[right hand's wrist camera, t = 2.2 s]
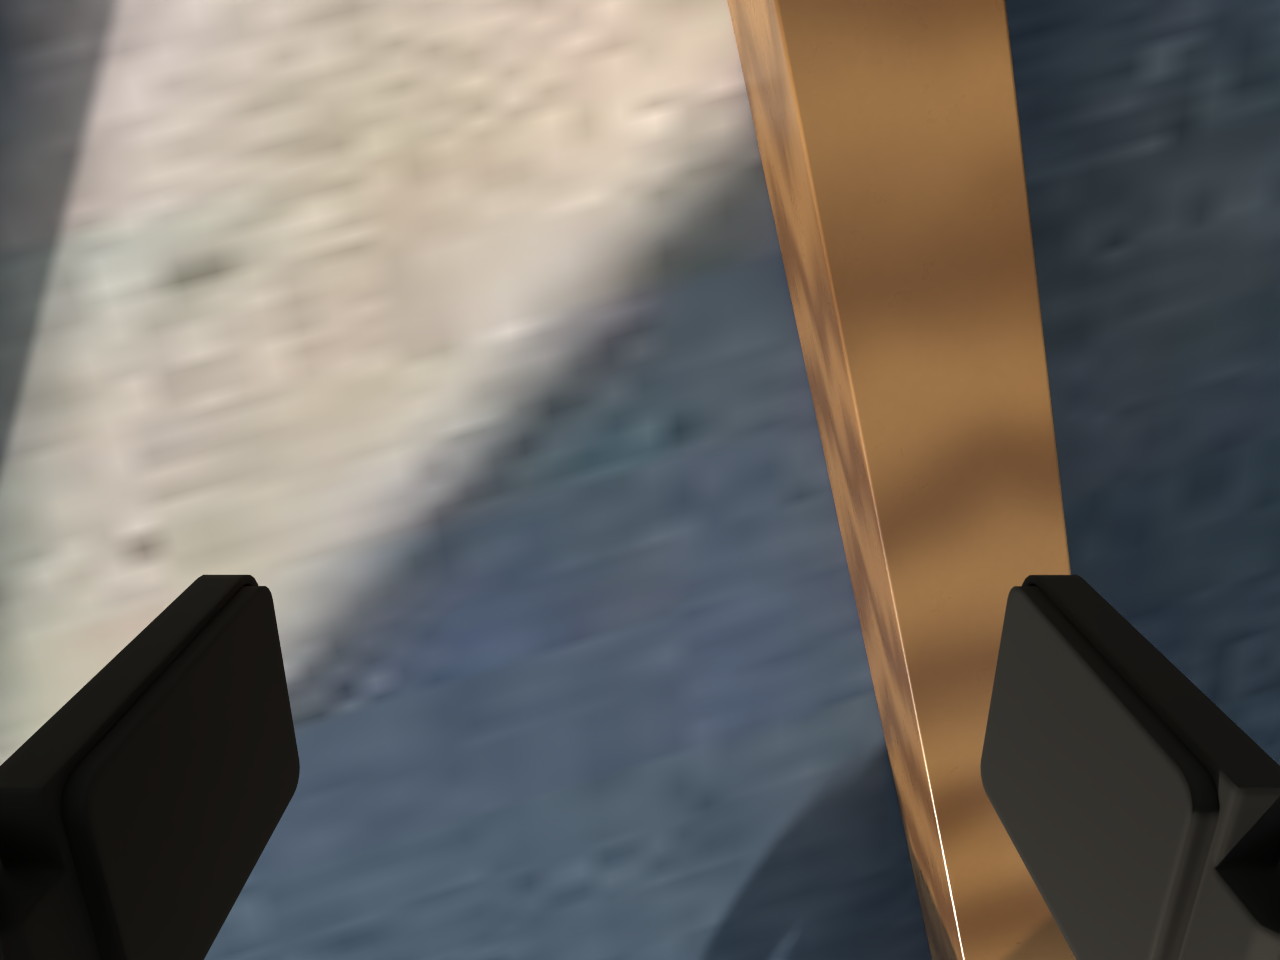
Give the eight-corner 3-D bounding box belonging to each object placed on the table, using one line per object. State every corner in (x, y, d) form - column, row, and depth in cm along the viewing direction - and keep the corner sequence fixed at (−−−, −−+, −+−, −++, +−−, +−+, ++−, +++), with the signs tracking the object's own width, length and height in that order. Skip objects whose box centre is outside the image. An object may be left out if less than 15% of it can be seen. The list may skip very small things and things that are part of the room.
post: (620, -500, 22) (619, -789, 15) (816, -569, 21) (904, -898, 15) (964, 1113, 42) (1028, 1290, 36) (1067, 1092, 42) (1151, 1267, 35)
